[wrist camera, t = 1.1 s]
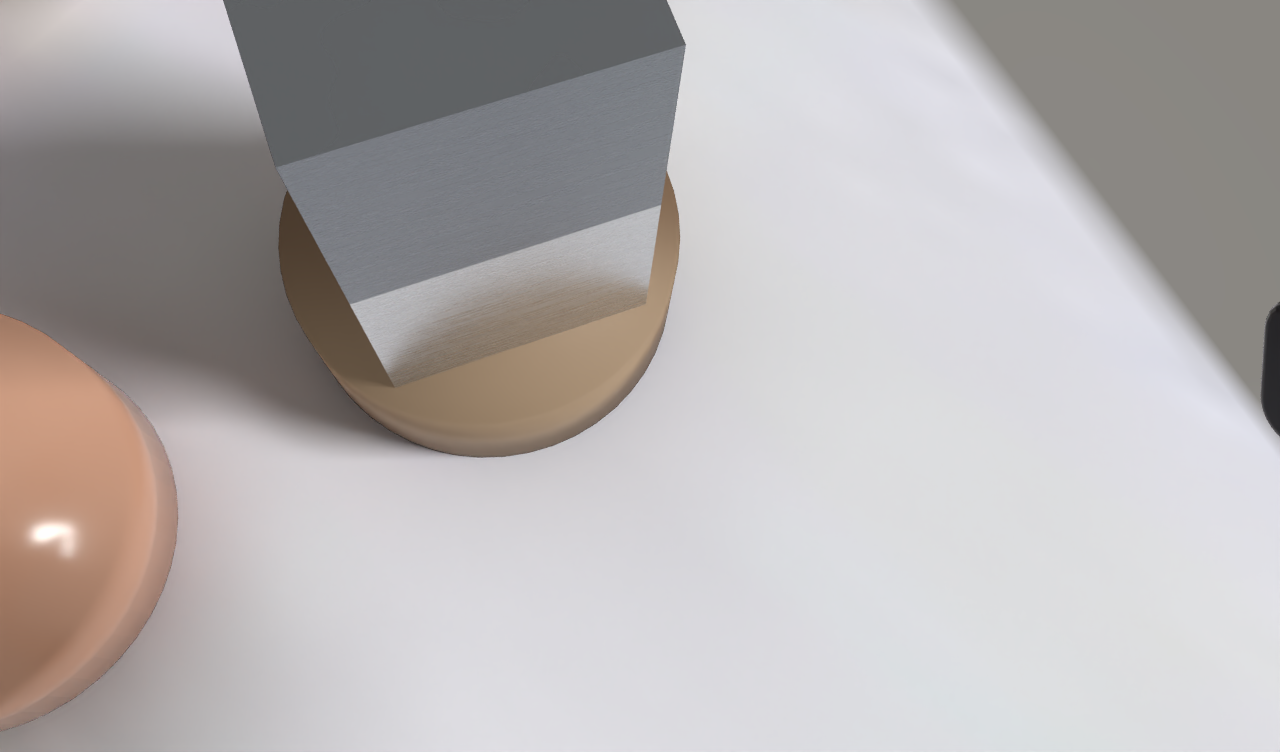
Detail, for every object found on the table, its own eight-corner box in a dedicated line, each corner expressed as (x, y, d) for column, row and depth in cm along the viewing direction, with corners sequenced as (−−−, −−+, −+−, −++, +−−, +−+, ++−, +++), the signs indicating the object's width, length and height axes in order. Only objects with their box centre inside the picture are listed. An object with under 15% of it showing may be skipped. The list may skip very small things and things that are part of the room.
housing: (645, 304, 20) (686, 44, 13) (395, 387, 20) (275, 168, 12) (560, 86, 21) (548, -272, 14) (320, 158, 21) (167, -177, 13)
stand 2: (690, 438, 22) (703, 402, 20) (316, 474, 22) (283, 442, 19) (648, 111, 24) (656, 43, 22) (305, 136, 24) (273, 69, 21)
